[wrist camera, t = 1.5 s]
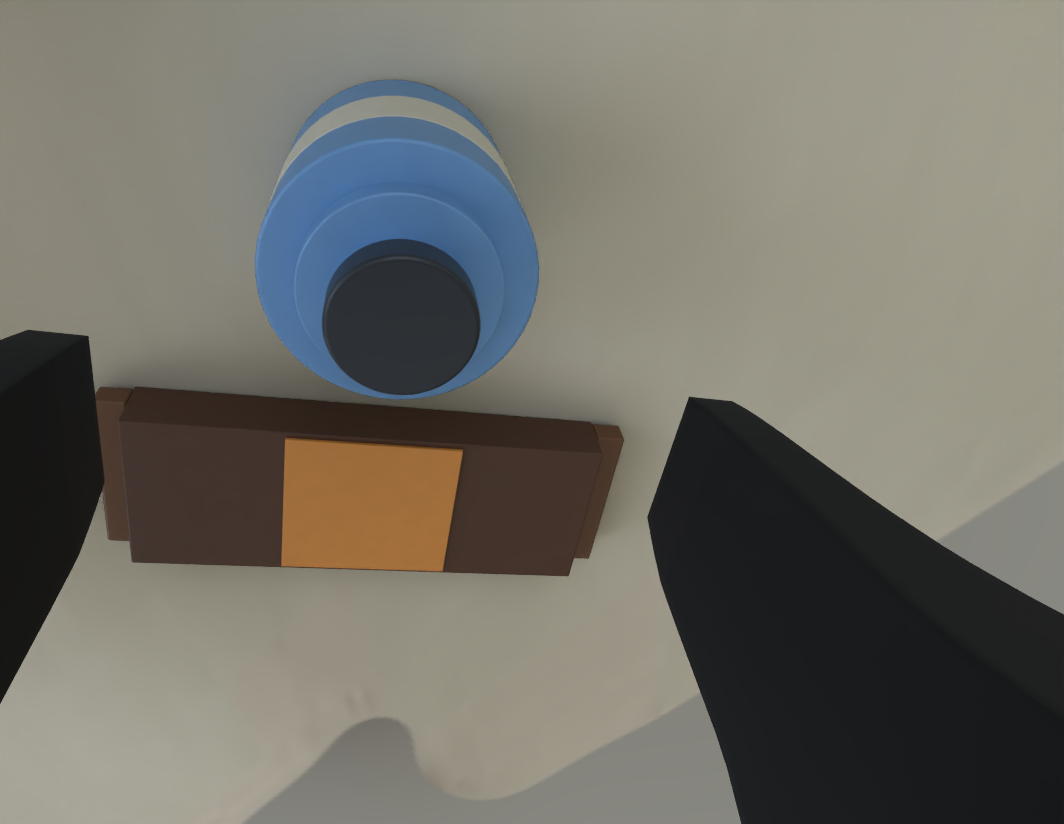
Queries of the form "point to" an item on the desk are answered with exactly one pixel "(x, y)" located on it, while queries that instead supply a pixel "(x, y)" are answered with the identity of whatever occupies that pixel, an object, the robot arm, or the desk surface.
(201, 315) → the desk surface
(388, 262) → the bottle
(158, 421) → the snack bar
